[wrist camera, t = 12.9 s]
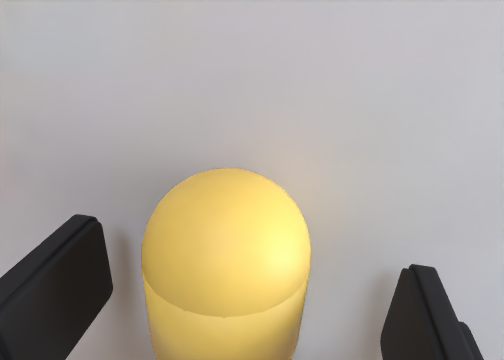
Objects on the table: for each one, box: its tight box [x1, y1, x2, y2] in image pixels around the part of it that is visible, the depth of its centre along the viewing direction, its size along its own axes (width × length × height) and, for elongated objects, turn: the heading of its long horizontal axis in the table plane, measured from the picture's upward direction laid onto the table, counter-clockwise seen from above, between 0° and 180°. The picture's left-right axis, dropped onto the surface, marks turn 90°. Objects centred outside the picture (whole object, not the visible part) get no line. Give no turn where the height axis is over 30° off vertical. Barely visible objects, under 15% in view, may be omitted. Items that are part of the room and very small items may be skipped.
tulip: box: [141, 168, 311, 360], centre depth 11 cm, size 13×5×4 cm, turn 177°
